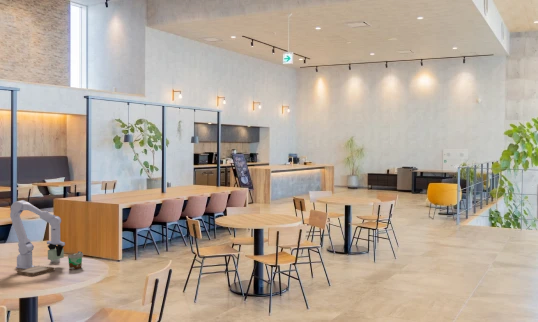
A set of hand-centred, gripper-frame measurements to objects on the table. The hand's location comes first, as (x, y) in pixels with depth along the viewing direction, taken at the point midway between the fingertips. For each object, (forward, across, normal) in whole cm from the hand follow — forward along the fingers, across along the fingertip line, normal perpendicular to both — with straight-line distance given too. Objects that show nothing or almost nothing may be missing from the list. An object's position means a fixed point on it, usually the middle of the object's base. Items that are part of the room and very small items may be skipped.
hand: (55, 255), depth 347 cm
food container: (+8, -16, -3) cm, 18 cm away
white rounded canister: (+8, +13, -11) cm, 19 cm away
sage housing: (+2, 0, 0) cm, 2 cm away
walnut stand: (+8, 0, +16) cm, 18 cm away
